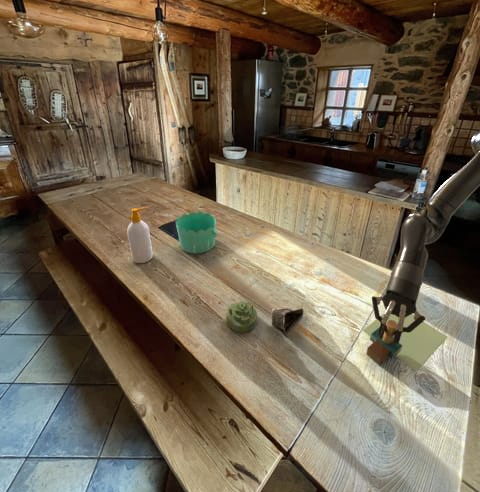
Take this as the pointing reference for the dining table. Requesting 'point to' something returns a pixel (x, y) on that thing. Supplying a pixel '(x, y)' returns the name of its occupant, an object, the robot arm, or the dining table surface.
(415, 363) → the mat
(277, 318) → the dark flower pot
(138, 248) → the soap bottle
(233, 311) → the decorative artifact
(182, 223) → the basket
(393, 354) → the brush
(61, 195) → the dining table surface
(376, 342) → the brown cube
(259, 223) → the dining table surface
